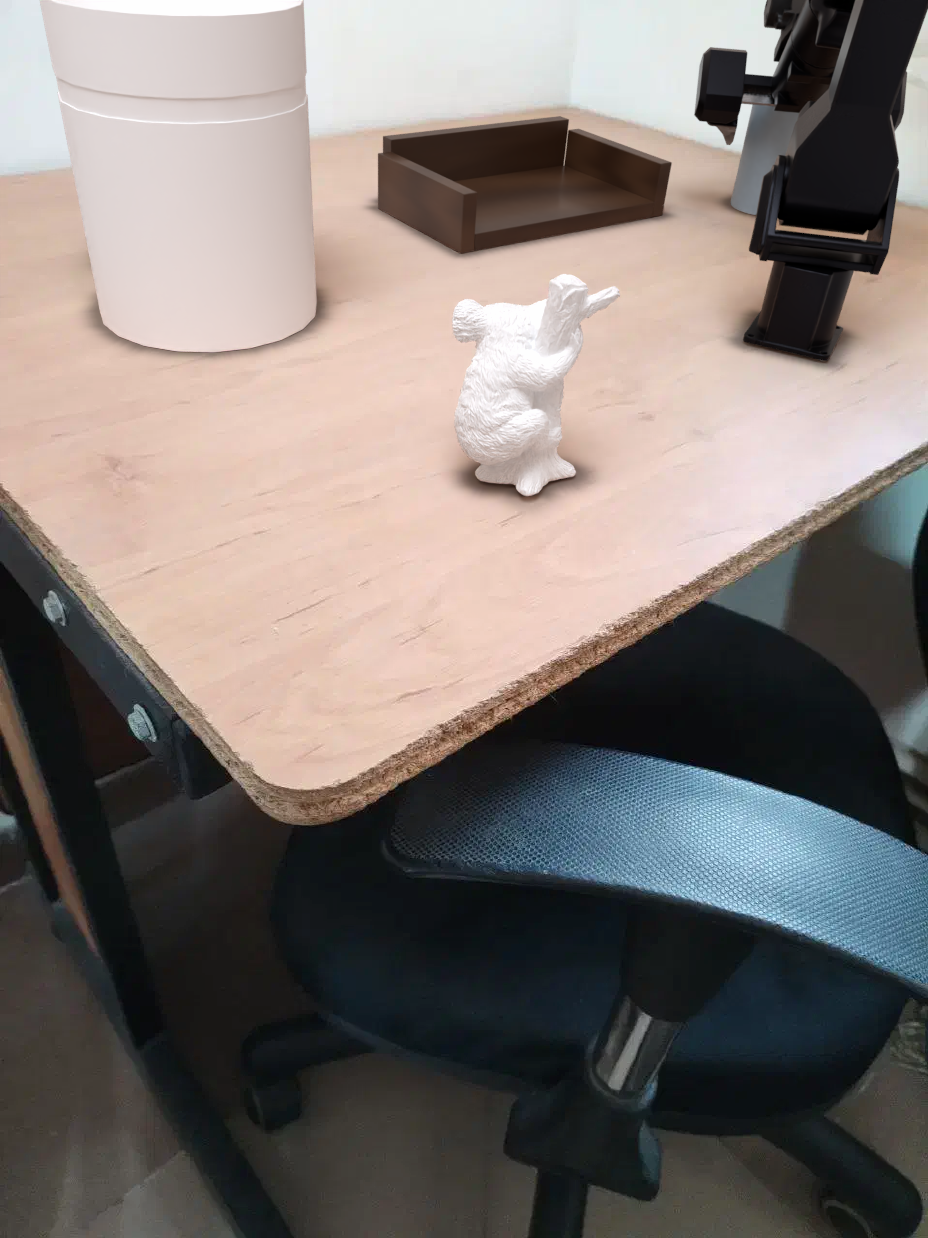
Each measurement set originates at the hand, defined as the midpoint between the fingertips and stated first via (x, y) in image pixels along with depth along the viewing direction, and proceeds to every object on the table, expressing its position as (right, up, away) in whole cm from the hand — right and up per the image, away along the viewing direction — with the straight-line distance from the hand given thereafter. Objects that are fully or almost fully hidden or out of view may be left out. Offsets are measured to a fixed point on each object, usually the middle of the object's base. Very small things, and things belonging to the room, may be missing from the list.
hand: (773, 144), depth 98 cm
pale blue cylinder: (0, -5, +3) cm, 6 cm away
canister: (-51, -25, -25) cm, 62 cm away
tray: (-26, -8, -3) cm, 27 cm away
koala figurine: (-29, -40, -41) cm, 65 cm away
